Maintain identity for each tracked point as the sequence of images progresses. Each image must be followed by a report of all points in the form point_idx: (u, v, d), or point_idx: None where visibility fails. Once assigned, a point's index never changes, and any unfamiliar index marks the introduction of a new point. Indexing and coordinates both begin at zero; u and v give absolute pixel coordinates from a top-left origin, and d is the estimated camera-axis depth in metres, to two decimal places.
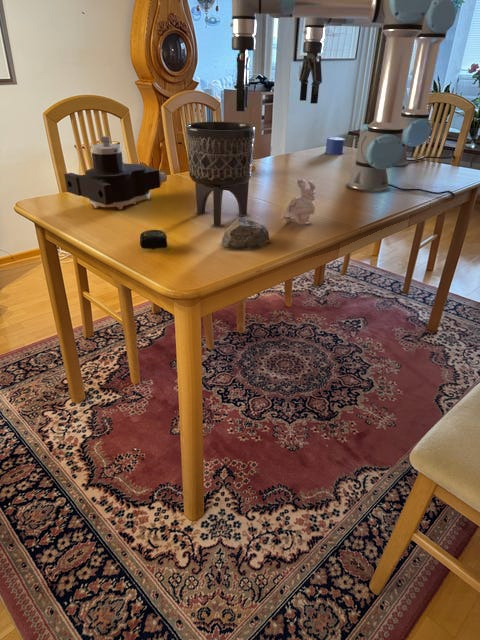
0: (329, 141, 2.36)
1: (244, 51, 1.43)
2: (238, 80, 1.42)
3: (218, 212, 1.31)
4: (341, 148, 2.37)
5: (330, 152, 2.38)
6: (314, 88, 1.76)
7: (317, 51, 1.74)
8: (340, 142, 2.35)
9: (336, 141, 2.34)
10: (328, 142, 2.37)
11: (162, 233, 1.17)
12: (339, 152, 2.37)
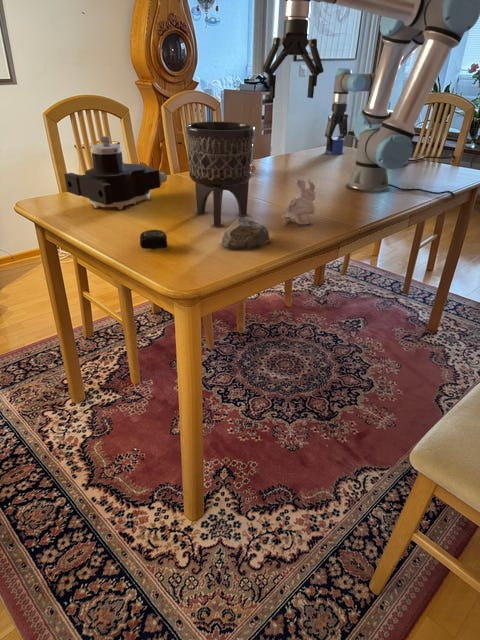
0: None
1: (285, 35, 1.36)
2: (264, 65, 1.40)
3: (218, 212, 1.31)
4: (341, 148, 2.37)
5: (330, 152, 2.38)
6: None
7: (335, 110, 2.28)
8: (340, 142, 2.35)
9: (336, 141, 2.34)
10: None
11: (162, 233, 1.17)
12: (339, 152, 2.37)
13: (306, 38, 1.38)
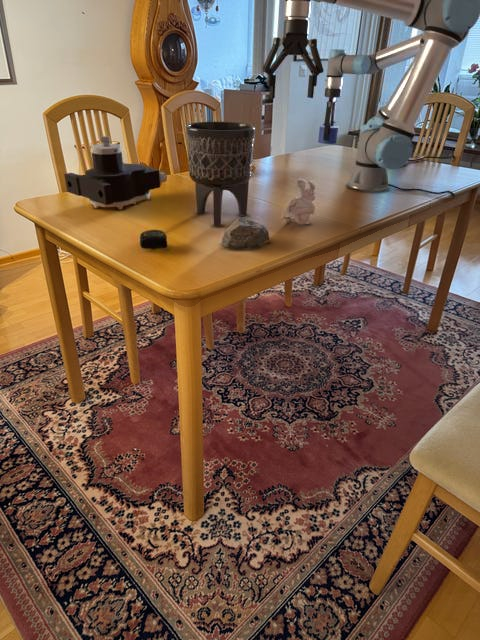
0: None
1: (285, 35, 1.36)
2: (264, 65, 1.40)
3: (218, 212, 1.31)
4: (336, 136, 2.21)
5: (327, 142, 2.20)
6: None
7: (332, 96, 2.10)
8: (337, 130, 2.19)
9: (334, 129, 2.17)
10: None
11: (162, 233, 1.17)
12: (335, 140, 2.21)
13: (306, 38, 1.38)
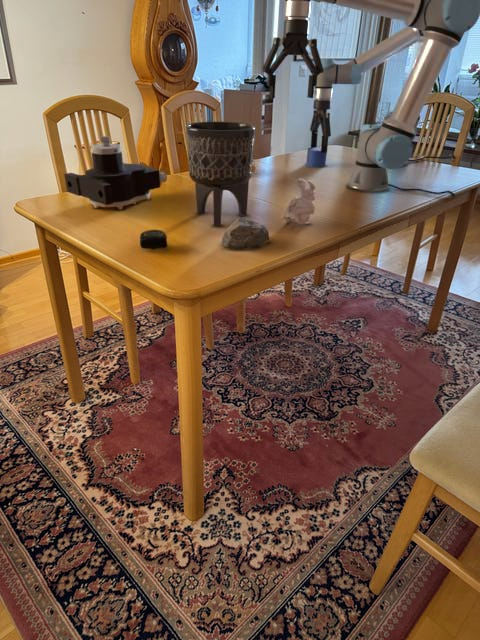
0: (319, 153, 2.06)
1: (285, 35, 1.36)
2: (264, 65, 1.40)
3: (218, 212, 1.31)
4: None
5: (321, 165, 2.09)
6: (324, 140, 2.00)
7: (326, 108, 1.98)
8: None
9: None
10: (317, 154, 2.06)
11: (162, 233, 1.17)
12: (325, 162, 2.12)
13: (306, 38, 1.38)
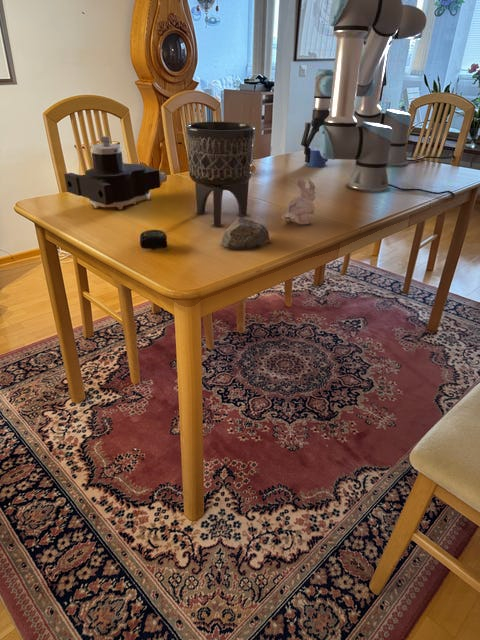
0: (319, 153, 2.06)
1: (313, 119, 2.02)
2: (302, 141, 2.06)
3: (218, 212, 1.31)
4: None
5: (321, 165, 2.09)
6: None
7: None
8: None
9: None
10: (317, 154, 2.07)
11: (162, 233, 1.17)
12: (325, 162, 2.12)
13: None
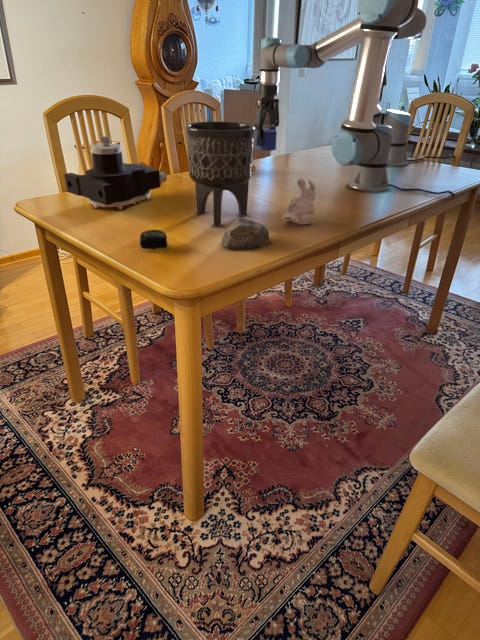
0: (274, 134, 1.85)
1: (264, 96, 1.78)
2: (255, 122, 1.80)
3: (218, 212, 1.31)
4: None
5: (275, 147, 1.88)
6: None
7: None
8: None
9: None
10: (272, 136, 1.85)
11: (162, 233, 1.17)
12: None
13: (274, 97, 1.83)
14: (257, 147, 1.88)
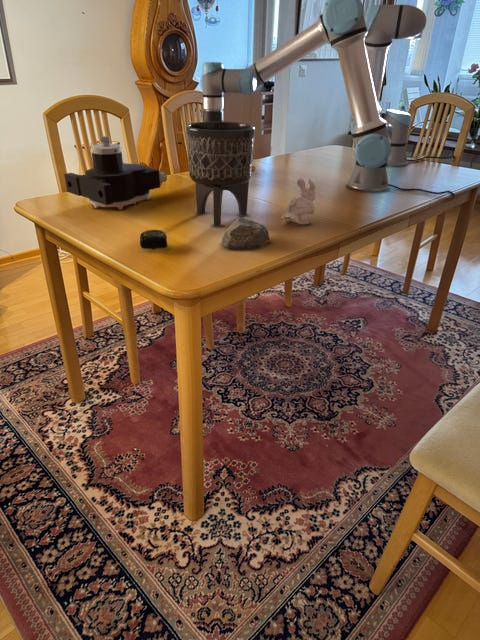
0: None
1: None
2: None
3: (218, 212, 1.31)
4: None
5: None
6: None
7: None
8: None
9: None
10: None
11: (162, 233, 1.17)
12: None
13: None
14: None
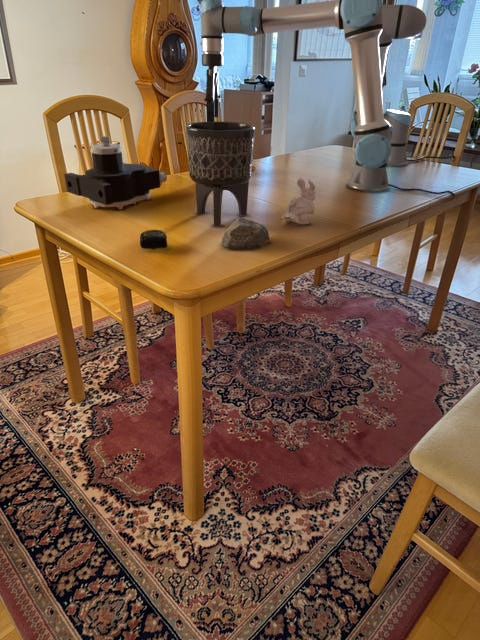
0: None
1: (213, 67, 1.57)
2: (207, 94, 1.56)
3: (218, 212, 1.31)
4: None
5: None
6: None
7: None
8: None
9: None
10: None
11: (162, 233, 1.17)
12: None
13: (216, 68, 1.63)
14: None
